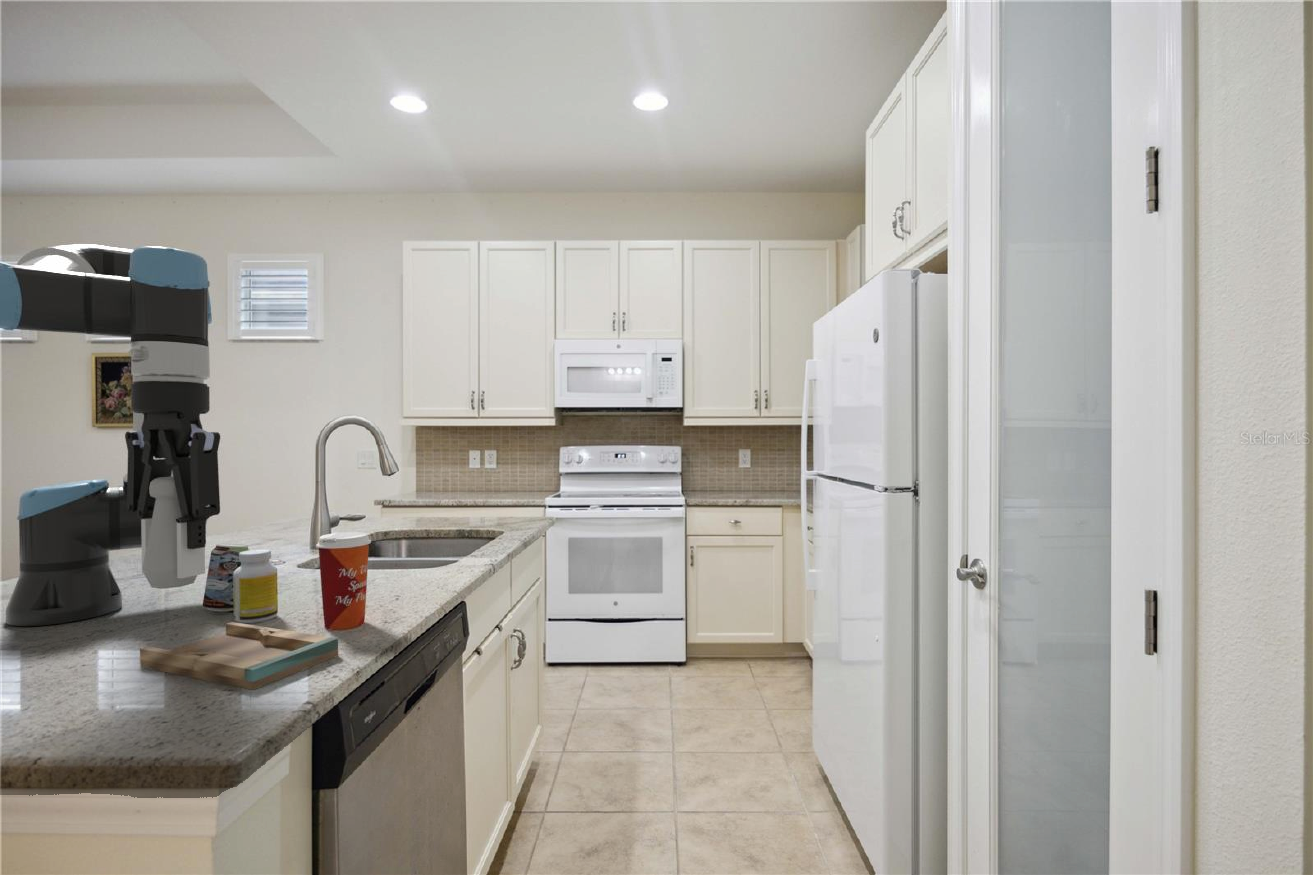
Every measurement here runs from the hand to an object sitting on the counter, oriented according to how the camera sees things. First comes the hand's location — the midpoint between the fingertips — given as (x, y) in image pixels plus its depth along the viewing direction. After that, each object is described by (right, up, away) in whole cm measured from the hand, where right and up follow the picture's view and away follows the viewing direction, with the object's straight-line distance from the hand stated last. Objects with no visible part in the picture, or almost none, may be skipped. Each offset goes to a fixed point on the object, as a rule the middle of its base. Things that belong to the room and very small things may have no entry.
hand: (173, 572), depth 78 cm
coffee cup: (+6, -15, +30) cm, 34 cm away
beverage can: (-19, -15, +39) cm, 46 cm away
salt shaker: (0, -2, 0) cm, 2 cm away
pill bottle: (-11, -15, +33) cm, 38 cm away
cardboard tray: (0, -15, +13) cm, 20 cm away
